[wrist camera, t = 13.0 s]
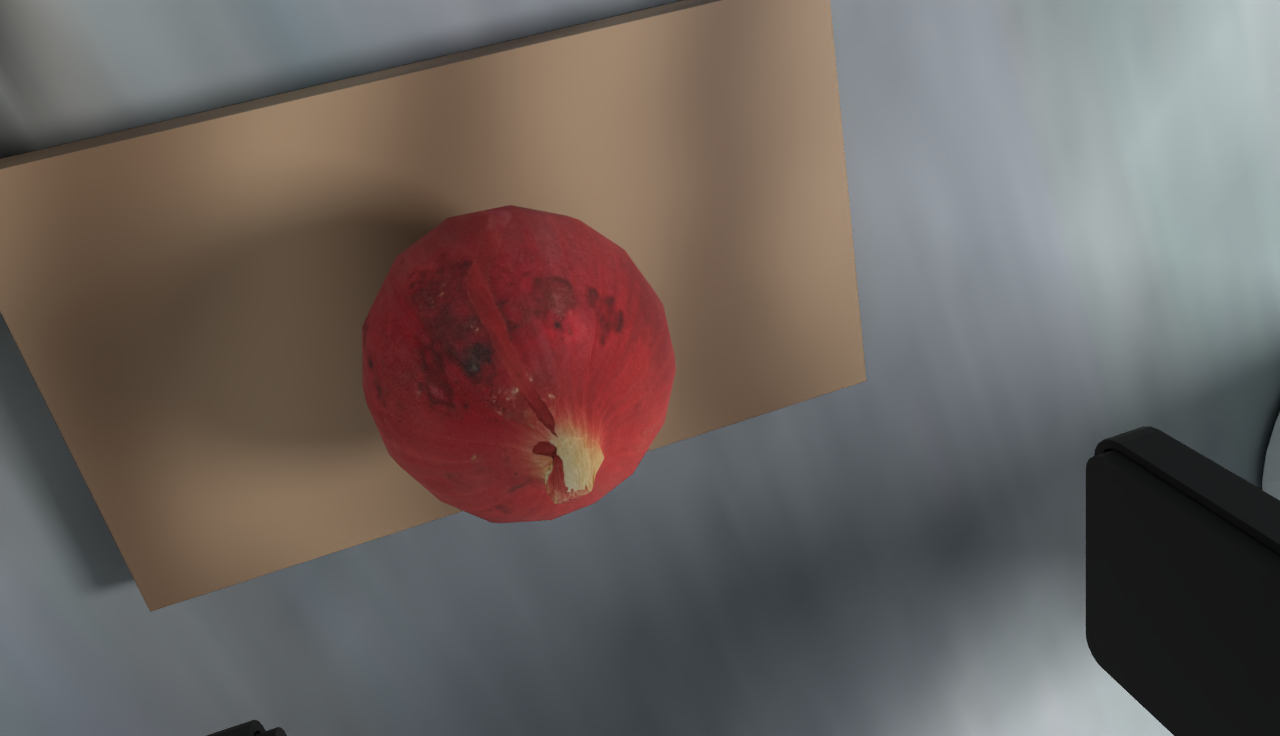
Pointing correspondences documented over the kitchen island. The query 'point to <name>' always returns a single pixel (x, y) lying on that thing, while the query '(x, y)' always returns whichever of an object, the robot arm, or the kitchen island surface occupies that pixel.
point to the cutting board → (385, 227)
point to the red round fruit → (517, 364)
